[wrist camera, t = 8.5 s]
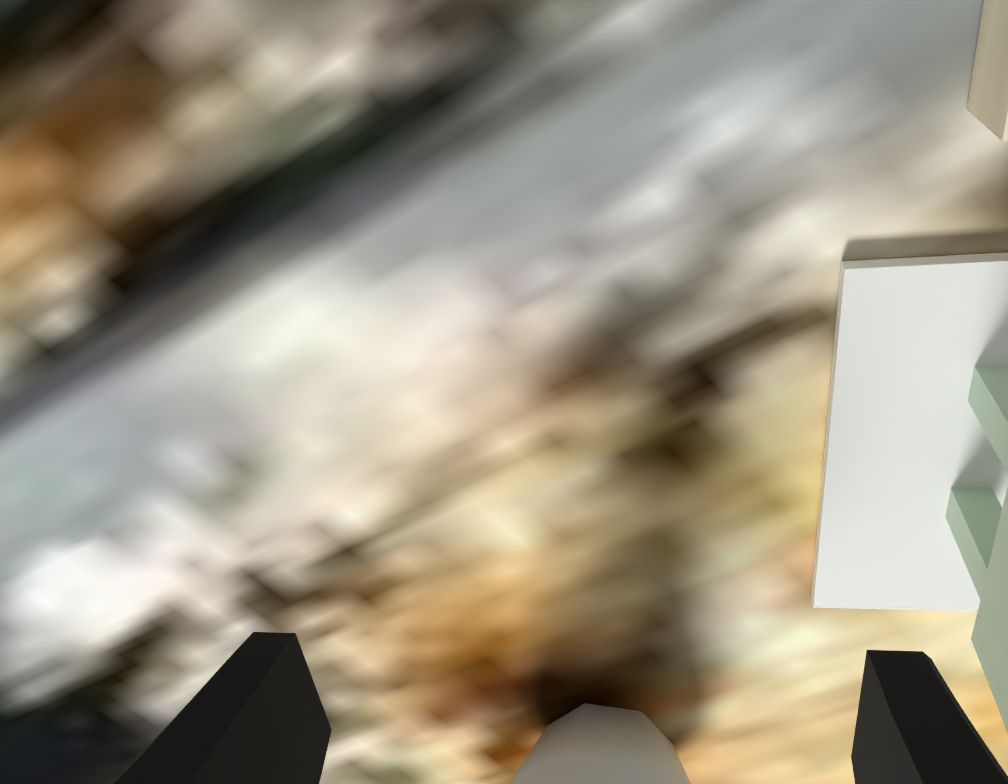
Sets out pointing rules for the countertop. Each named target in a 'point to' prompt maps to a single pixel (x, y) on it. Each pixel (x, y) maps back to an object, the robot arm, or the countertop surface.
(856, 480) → the pad
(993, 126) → the step
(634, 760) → the salt shaker
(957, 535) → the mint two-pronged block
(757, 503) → the countertop surface
